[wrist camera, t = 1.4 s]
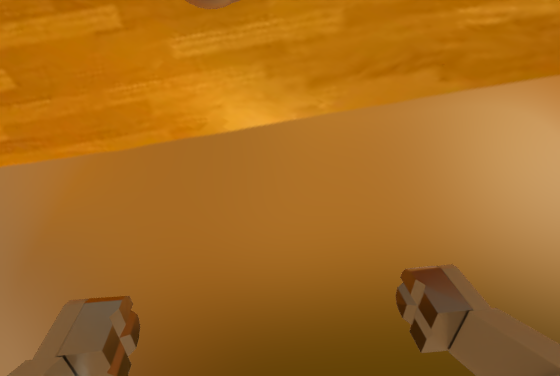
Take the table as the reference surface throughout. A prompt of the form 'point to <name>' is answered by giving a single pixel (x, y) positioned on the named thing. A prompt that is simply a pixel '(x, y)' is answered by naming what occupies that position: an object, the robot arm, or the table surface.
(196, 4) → the plastic bottle
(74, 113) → the table surface
